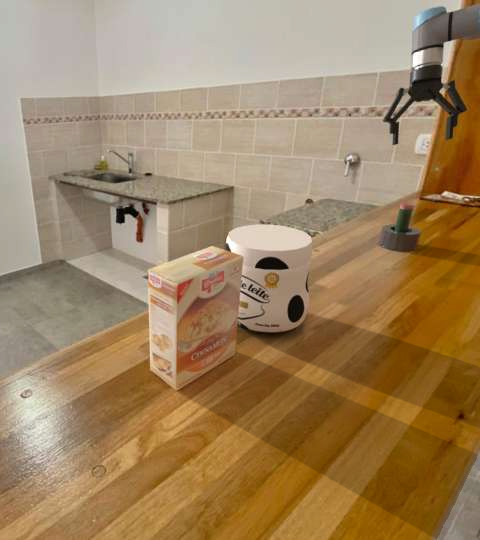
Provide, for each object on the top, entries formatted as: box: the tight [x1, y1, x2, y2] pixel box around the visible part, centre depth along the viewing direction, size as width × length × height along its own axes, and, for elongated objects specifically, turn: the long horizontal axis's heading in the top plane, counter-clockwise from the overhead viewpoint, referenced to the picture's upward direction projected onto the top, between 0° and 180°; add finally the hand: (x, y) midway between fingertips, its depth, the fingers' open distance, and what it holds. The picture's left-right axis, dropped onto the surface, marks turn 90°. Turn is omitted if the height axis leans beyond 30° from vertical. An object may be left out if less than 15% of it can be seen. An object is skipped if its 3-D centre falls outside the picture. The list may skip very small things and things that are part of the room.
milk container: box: [224, 224, 313, 335], centre depth 76 cm, size 17×17×18 cm
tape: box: [378, 224, 422, 252], centre depth 109 cm, size 9×9×5 cm
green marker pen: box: [394, 202, 415, 232], centre depth 108 cm, size 3×3×12 cm
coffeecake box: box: [147, 245, 244, 392], centre depth 64 cm, size 15×7×20 cm, turn 126°
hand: (421, 142), depth 117 cm, fingers open, 13 cm apart
